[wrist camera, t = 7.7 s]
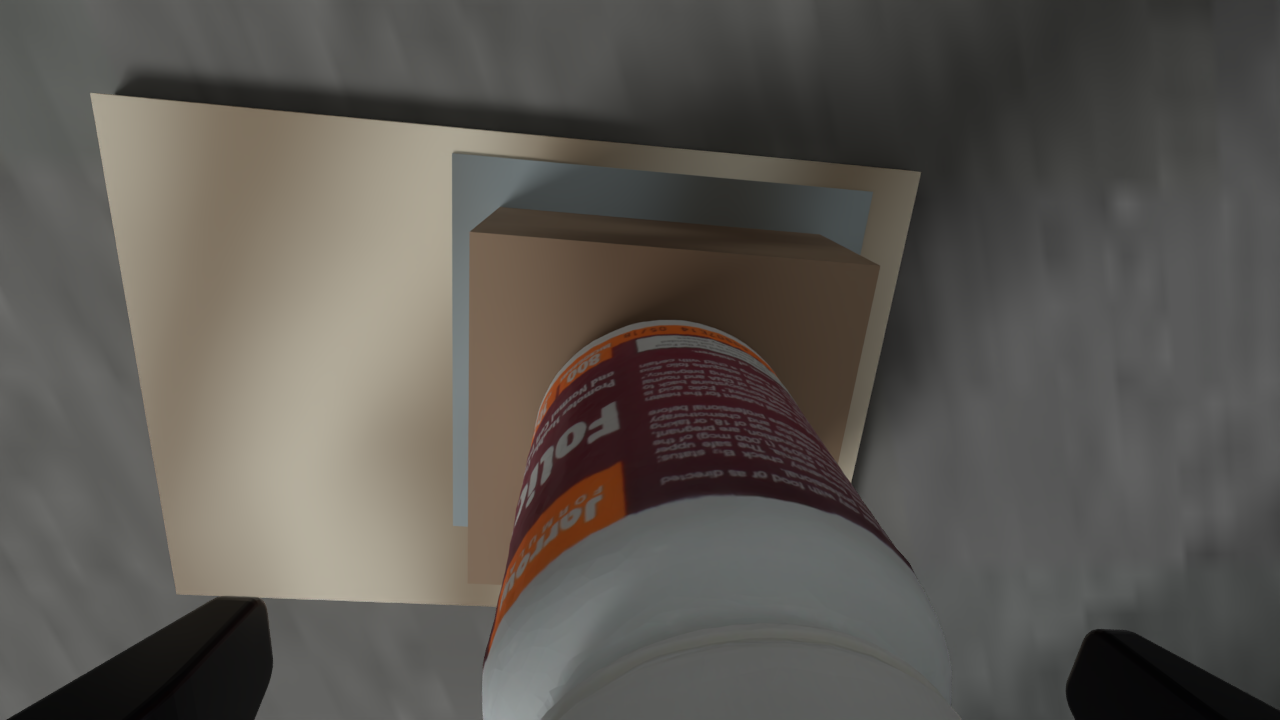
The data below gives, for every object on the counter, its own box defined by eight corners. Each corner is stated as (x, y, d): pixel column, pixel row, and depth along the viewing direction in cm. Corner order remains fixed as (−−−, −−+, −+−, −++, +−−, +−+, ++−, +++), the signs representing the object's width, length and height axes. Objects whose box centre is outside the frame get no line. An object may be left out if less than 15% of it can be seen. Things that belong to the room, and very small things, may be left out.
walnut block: (819, 234, 15) (880, 265, 11) (770, 507, 17) (809, 597, 14) (499, 206, 14) (469, 231, 11) (493, 493, 16) (467, 583, 13)
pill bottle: (561, 287, 11) (478, 685, 3) (823, 345, 12) (1266, 791, 4) (512, 522, 13) (376, 1177, 5) (746, 562, 13) (960, 1195, 6)
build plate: (909, 170, 15) (922, 172, 14) (814, 604, 19) (820, 621, 18) (111, 94, 14) (87, 93, 13) (190, 578, 18) (175, 596, 17)
